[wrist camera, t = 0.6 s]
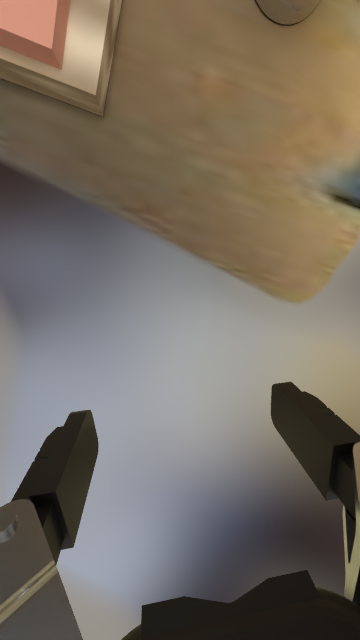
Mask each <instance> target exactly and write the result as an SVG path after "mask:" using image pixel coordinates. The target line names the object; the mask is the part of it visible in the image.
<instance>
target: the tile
mask: <svg viewBox="0 0 360 640" xmlns="http://www.w3.org/2000/svg"><path fill="white" fill-rule="evenodd" d="M69 7H70V0H0V45H1V46H3V47H6V48H8V49H11V50H13V51H16V52H18V53H21V54H23V55H26V56H28V57H31V58H33V59H36V60H38V61H41V62H43V63H46V64H48V65H51V66H53V67H56V68H59V69H61V70H62V64H63V56H64V48H65V40H66V32H67V23H68V15H69Z"/></svg>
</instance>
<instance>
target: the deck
mask: <svg viewBox="0 0 360 640" xmlns="http://www.w3.org/2000/svg"><path fill="white" fill-rule="evenodd" d="M121 4H122V0H70V7H69V15H68V23H67V32H66V40H65V48H64V56H63V64H62V70H61V69H59V68H56V67H53V66H51V65H48V64H46V63H43V62H41V61H38V60H36V59H33V58H31V57H28V56H26V55H23V54H21V53H18V52H16V51H13V50H11V49H8V48H6V47H3V46H1V45H0V78H1V79H4V80H7V81H9V82H12V83H15V84H17V85H20V86H23V87H25V88H28V89H31V90H34V91H36V92H39V93H42V94H44V95H47V96H50V97H52V98H55V99H58V100H60V101H63V102H66V103H68V104H71V105H74V106H76V107H79V108H82V109H84V110H87V111H90V112H92V113H95V114H98V115H100V116H103V114H104V107H105V101H106V95H107V89H108V83H109V77H110V71H111V65H112V59H113V53H114V47H115V40H116V34H117V28H118V22H119V16H120V10H121Z"/></svg>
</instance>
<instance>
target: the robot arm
mask: <svg viewBox="0 0 360 640" xmlns="http://www.w3.org/2000/svg"><path fill="white" fill-rule="evenodd" d="M256 1H257V3H258V5H259V6H260V8H261V10H262V11H263V12H264V13H265V14H266V15H267V16H268V17H269V18H270V19H272V20H273V21H275V22H278V23H280V24H294V23H298V22H300V21H302V20H303V19H305V18H306V17H307V16H308V15H310V14H311V13H312V11H313V10H314V9H315V7H316V6H317V5H318V3H319V2H320V0H256ZM271 418H272V421H273V424H274V426H275V428H276V429H277V431H278V432H279V434H280V435H281V437H282V438H283V439H284V441H285V442H286V444H287V445H288V447H289V448H290V449H291V451H292V452H293V454H294V455H295V457H296V458H297V459H298V461H299V462H300V464H301V465H302V467H303V468H304V470H305V471H306V472H307V474H308V475H309V477H310V478H311V479H312V481H313V482H314V484H315V485H316V487H317V488H318V489H319V491H320V492H321V494H322V495H323V497H324V498H325V500H326V501H327V500H332V499H337V498H339V499H340V501H341V502H342V503H343V505H344V506H343V527H344V543H345V544H344V545H345V566H346V583H345V597H344V596H342V595H340V594H337V593H335V592H333V591H330V590H327V589H324V588H320V587H315V585H314V583H313V581H312V579H311V577H310V575H309V573H308V571H307V570H304V571H300V572H296V573H291V574H286V575H281V576H277V577H272V578H268V579H267V580H265V581H264V582H262V583H261V584H259V585H258V586H256V587H255V588H253V589H252V590H250V591H249V592H247V593H246V594H244V595H243V596H241V597H240V598H238V599H237V600H236V601H234V602H232V603H223V602H217V601H210V600H204V599H198V598H191V597H185V596H184V597H180V598H175V599H170V600H166V601H161V602H157V603H152V604H148V605H143V606H142V621H141V624H140V625H139V626H137V627H136V628H135V629H133V630H132V631H131V632H129V633H128V634H127V635H126V636H125V637H124V638H123V639H122V640H360V435H359V434H357V433H356V432H355V431H354V430H353V429H352V428H351V427H350V426H348V425H347V424H346V423H345V422H344V421H343V420H342V419H341V418H339V417H338V416H337V415H335V414H334V412H333V411H332V410H330V409H329V408H327V406H326V405H325V404H324V403H323V402H322V401H320V400H319V399H318V398H317V397H315V396H313V395H311V394H309V393H307V392H301V391H300V390H299V389H298V388H297V387H296V386H295V385H294V384H293V383H292V382H286V383H278V384H273V386H272V395H271ZM97 455H98V438H97V433H96V429H95V425H94V420H93V416H92V412H91V411H90V410H84V411H78V412H71V413H70V414H69V416H68V418H67V420H66V422H65V424H64V426H62V427H57V428H56V429H55V430H54V431H53V432H52V433H51V434H50V435H49V436H48V437H47V438H46V440H45V441H44V443H43V445H42V447H41V448H40V451H39V452H38V454H37V456H36V457H35V461H34V462H33V463H32V465H31V466H30V468H29V470H28V472H27V474H26V476H25V477H24V479H23V481H22V483H21V484H20V487H19V488H18V490H17V492H16V493H15V495H14V497H13V499H12V501H11V502H10V503H8V504H6V505H4V506H2V507H0V640H83V639H82V636H81V633H80V630H79V627H78V625H77V622H76V619H75V616H74V614H73V611H72V608H71V605H70V603H69V600H68V597H67V595H66V592H65V589H64V586H63V583H62V581H61V578H60V575H59V572H58V570H57V567H56V564H57V561H58V557H59V554H60V551H61V550H63V549H67V548H73V547H74V543H75V539H76V535H77V531H78V528H79V524H80V520H81V516H82V513H83V509H84V505H85V501H86V497H87V493H88V489H89V486H90V482H91V478H92V474H93V470H94V467H95V463H96V459H97Z"/></svg>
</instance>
